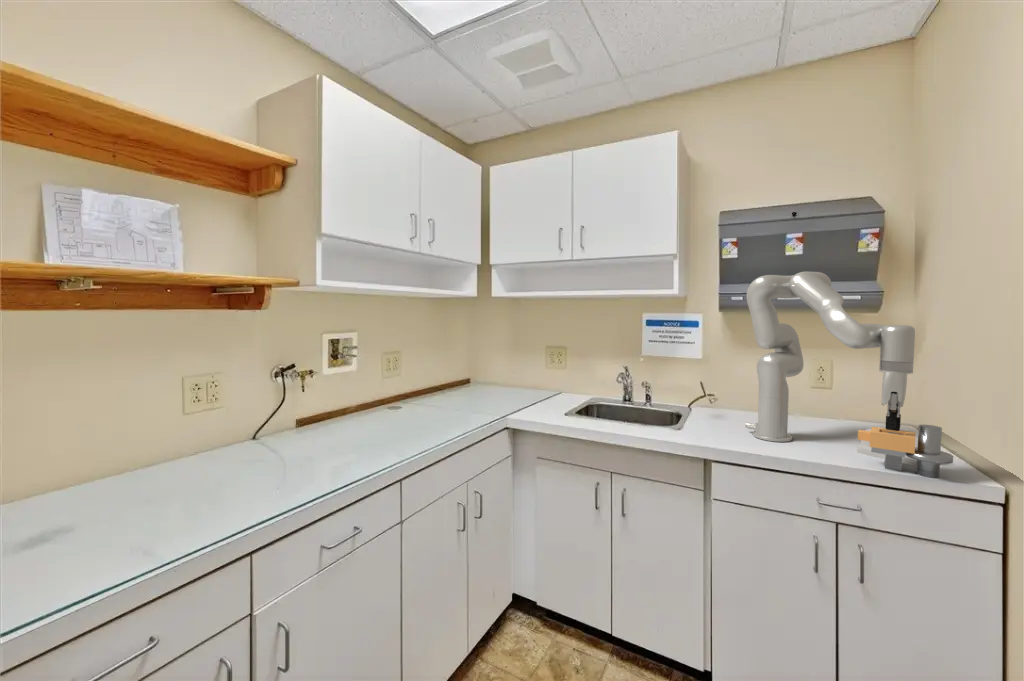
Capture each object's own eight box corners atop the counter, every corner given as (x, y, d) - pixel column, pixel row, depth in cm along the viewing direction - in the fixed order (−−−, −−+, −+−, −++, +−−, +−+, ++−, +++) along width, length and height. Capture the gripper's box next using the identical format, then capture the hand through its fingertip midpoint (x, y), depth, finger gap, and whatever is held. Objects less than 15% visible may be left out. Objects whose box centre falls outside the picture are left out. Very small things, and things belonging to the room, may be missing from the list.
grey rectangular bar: (884, 469, 133) (887, 433, 132) (884, 467, 135) (887, 431, 134) (900, 472, 131) (903, 435, 130) (900, 469, 132) (903, 433, 131)
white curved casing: (854, 452, 148) (860, 422, 149) (860, 454, 150) (866, 425, 152) (920, 467, 134) (926, 434, 135) (925, 469, 136) (931, 437, 137)
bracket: (914, 447, 132) (915, 432, 132) (914, 453, 126) (915, 438, 126) (859, 439, 141) (859, 424, 140) (856, 444, 135) (857, 430, 134)
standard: (950, 474, 128) (953, 426, 127) (953, 484, 120) (956, 433, 119) (872, 460, 140) (874, 416, 139) (870, 469, 132) (872, 422, 131)
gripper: (880, 363, 139) (878, 421, 141) (877, 369, 127) (874, 432, 128) (913, 365, 134) (909, 425, 136) (913, 371, 122) (909, 437, 123)
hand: (892, 427), depth 132 cm, fingers open, 3 cm apart
